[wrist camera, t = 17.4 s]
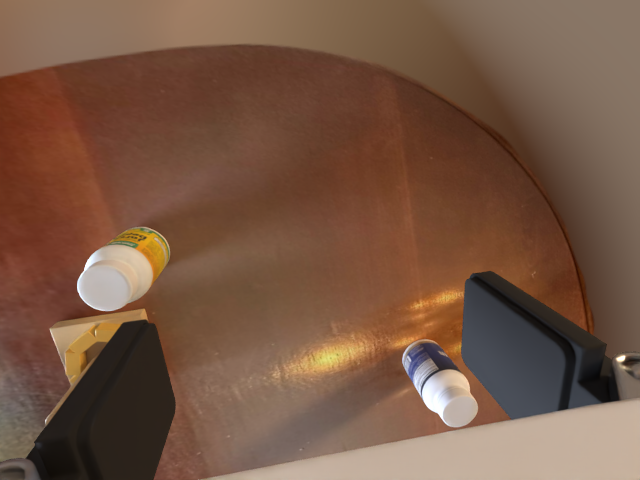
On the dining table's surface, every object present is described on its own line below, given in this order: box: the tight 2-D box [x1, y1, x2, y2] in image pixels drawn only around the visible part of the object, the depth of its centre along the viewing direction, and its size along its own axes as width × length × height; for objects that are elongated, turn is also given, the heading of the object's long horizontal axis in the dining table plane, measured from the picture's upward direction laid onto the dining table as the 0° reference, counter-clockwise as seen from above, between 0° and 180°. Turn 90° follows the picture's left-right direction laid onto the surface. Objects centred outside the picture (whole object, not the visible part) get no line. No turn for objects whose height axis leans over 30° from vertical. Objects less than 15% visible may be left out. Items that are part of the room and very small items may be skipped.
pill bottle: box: [402, 339, 478, 427], centre depth 41 cm, size 5×5×10 cm
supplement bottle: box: [77, 227, 170, 311], centre depth 32 cm, size 5×5×10 cm
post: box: [46, 309, 149, 426], centre depth 34 cm, size 9×9×10 cm
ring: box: [65, 323, 121, 383], centre depth 37 cm, size 8×8×1 cm
